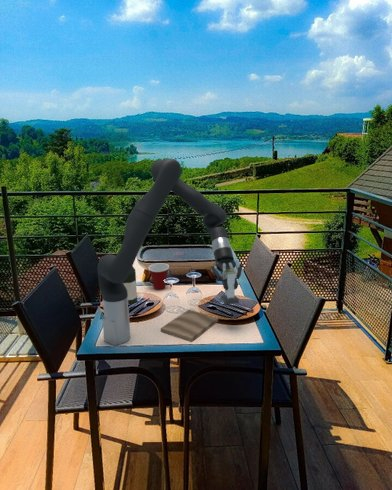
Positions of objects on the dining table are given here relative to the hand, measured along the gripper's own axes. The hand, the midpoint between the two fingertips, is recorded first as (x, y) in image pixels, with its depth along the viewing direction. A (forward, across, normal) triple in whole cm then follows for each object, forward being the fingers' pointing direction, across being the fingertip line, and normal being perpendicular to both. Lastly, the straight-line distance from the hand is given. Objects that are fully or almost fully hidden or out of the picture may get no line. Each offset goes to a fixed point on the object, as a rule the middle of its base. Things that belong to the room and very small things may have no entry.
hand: (231, 288), depth 142 cm
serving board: (+8, -15, +17) cm, 24 cm away
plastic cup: (-24, -21, +49) cm, 59 cm away
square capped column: (+3, 0, +6) cm, 6 cm away
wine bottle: (-12, -38, +37) cm, 55 cm away
